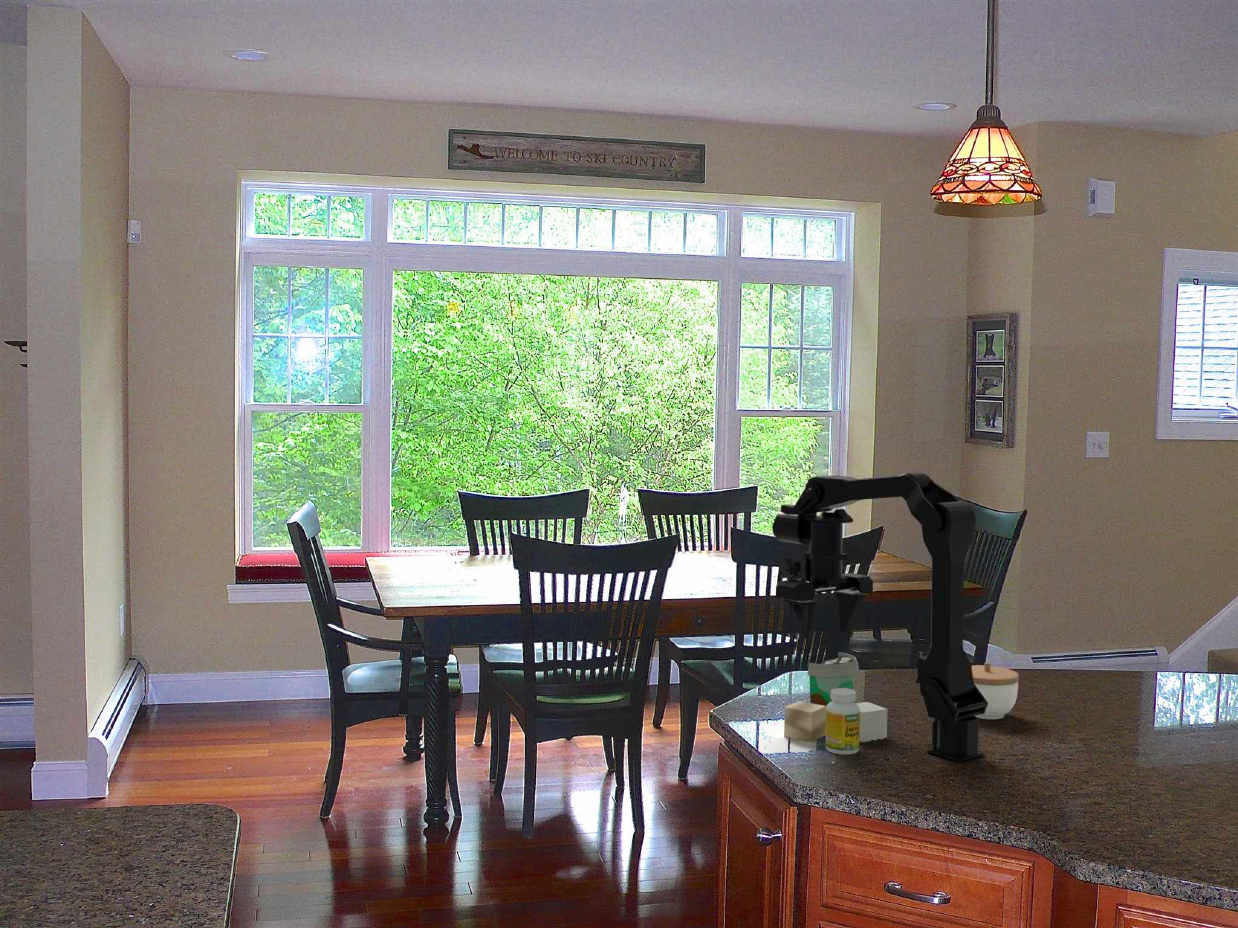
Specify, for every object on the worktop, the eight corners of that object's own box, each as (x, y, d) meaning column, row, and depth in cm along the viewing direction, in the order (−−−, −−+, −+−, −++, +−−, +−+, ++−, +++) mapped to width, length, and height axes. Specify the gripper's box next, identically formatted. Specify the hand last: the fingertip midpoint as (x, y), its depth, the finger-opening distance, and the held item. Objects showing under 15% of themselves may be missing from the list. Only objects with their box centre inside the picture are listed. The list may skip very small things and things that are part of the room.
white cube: (886, 738, 193) (887, 708, 192) (862, 742, 190) (863, 712, 190) (866, 730, 197) (867, 701, 197) (843, 734, 195) (844, 705, 194)
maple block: (825, 735, 194) (826, 705, 194) (811, 742, 190) (811, 712, 190) (798, 730, 197) (799, 700, 197) (784, 736, 193) (784, 707, 193)
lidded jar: (1031, 719, 205) (1032, 667, 204) (981, 725, 201) (982, 671, 200) (990, 704, 215) (992, 654, 214) (942, 709, 211) (943, 658, 210)
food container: (838, 726, 199) (840, 668, 199) (806, 719, 203) (807, 663, 202) (870, 711, 209) (871, 656, 209) (838, 705, 213) (840, 651, 212)
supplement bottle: (838, 743, 190) (839, 684, 189) (866, 750, 186) (867, 691, 185) (818, 749, 186) (819, 690, 185) (846, 757, 182) (847, 696, 181)
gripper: (830, 539, 216) (829, 622, 217) (754, 545, 205) (753, 633, 206) (875, 545, 207) (874, 632, 208) (799, 552, 196) (798, 644, 197)
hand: (824, 635), depth 205 cm, fingers open, 9 cm apart
